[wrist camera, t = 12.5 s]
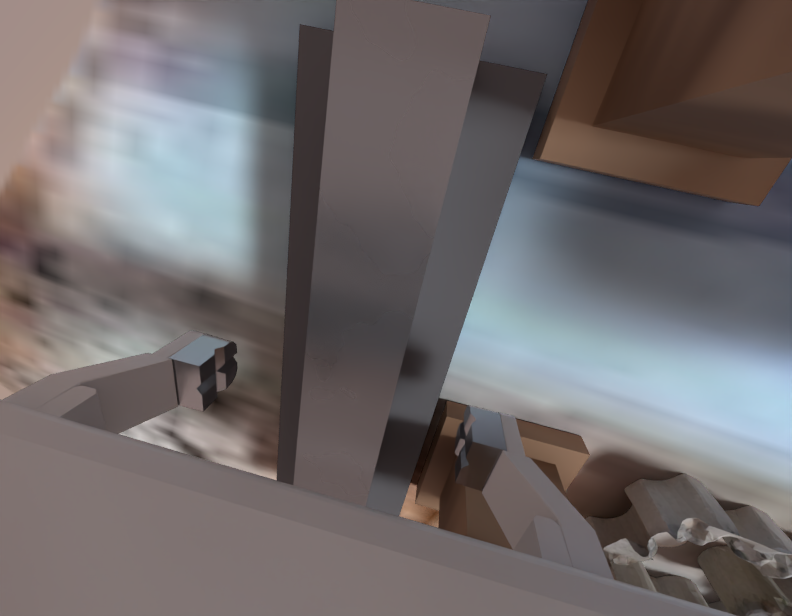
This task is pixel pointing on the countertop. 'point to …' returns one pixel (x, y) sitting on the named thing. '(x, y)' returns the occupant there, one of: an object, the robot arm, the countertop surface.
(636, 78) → the post
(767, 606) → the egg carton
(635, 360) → the countertop surface
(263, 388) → the countertop surface
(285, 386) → the grey flat bar
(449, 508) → the post
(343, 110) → the rail
